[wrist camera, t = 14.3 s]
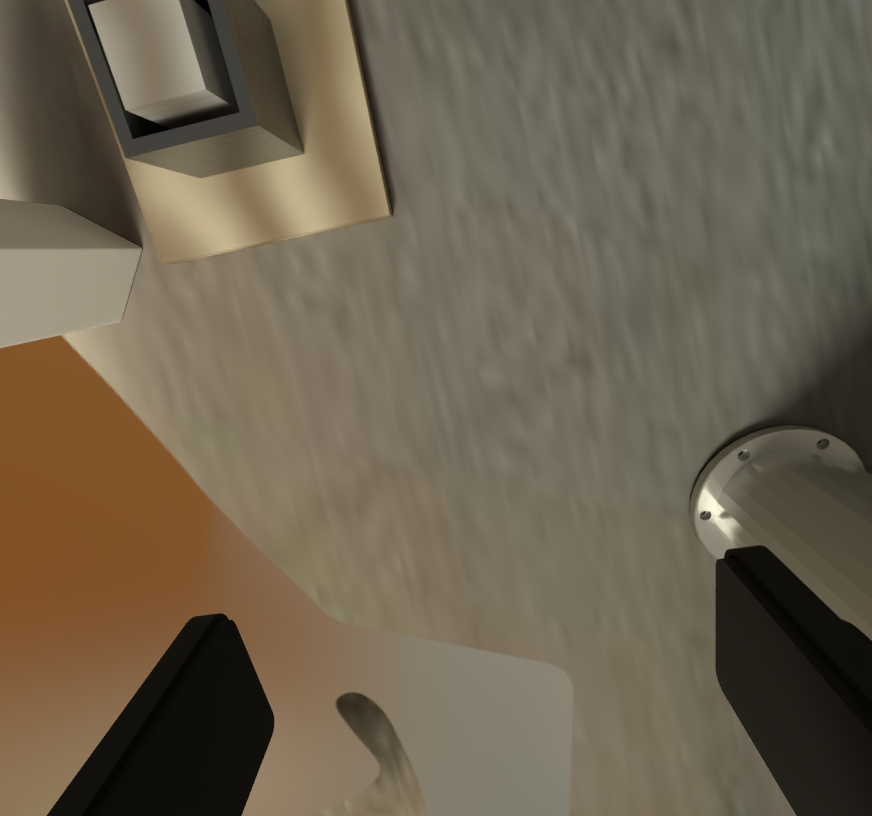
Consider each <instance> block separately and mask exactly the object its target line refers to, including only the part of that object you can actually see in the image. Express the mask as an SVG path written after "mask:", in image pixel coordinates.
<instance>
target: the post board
mask: <svg viewBox="0 0 872 816" xmlns="http://www.w3.org/2000/svg"><path fill="white" fill-rule="evenodd" d="M255 1H256V3H257V4H258V5H259V6H260V7H261V9H262V10H263V11H264V12H265V14H266V15H267V16H268V17H269V18H270V20H271V24H272V28H273V31H274V35H275V39H276V43H277V47H278V51H279V55H280V59H281V63H282V67H283V71H284V75H285V79H286V83H287V86H288V90H289V94H290V98H291V102H292V106H293V110H294V114H295V118H296V122H297V126H298V130H299V134H300V138H301V141H302V145H303V149H304V153H305V154H303V155H298V156H294V157H290V158H286V159H281V160H277V161H273V162H269V163H264V164H260V165H256V166H252V167H248V168H243V169H239V170H235V171H231V172H226V173H222V174H218V175H214V176H209V177H205V178H201V179H200V178H197V177H193V176H189V175H186V174H182V173H178V172H175V171H171V170H167V169H164V168H160V167H156V166H153V165H149V164H145V163H142V162H138V161H134V160H131V159H127V158H125V155H124V153H123V150H122V147H121V144H120V142H119V139H118V136H117V134H116V131H115V128H114V125H113V123H112V120H111V117H110V115H109V112H108V109H107V106H106V104H105V101H104V98H103V95H102V93H101V90H100V87H99V85H98V82H97V79H96V76H95V74H94V71H93V68H92V65H91V63H90V60H89V57H88V55H87V52H86V49H85V46H84V44H83V41H82V38H81V36H80V33H79V30H78V27H77V25H76V22H75V19H74V16H73V14H72V11H71V8H70V6H69V3H68V0H65V3H66V6H67V8H68V11H69V14H70V17H71V19H72V22H73V25H74V27H75V30H76V33H77V36H78V38H79V41H80V44H81V46H82V49H83V52H84V55H85V57H86V60H87V63H88V65H89V68H90V71H91V74H92V76H93V79H94V82H95V84H96V87H97V90H98V93H99V95H100V98H101V101H102V103H103V106H104V109H105V112H106V114H107V117H108V120H109V122H110V125H111V128H112V131H113V133H114V136H115V139H116V141H117V144H118V147H119V150H120V152H121V155H122V158H123V160H124V163H125V166H126V168H127V171H128V174H129V177H130V179H131V182H132V185H133V187H134V190H135V193H136V196H137V198H138V201H139V204H140V206H141V209H142V212H143V215H144V217H145V220H146V223H147V225H148V228H149V231H150V234H151V236H152V239H153V242H154V244H155V247H156V250H157V253H158V255H159V258H160V261H161V263H162V264H176V263H180V262H185V261H190V260H194V259H199V258H203V257H208V256H213V255H217V254H222V253H227V252H231V251H236V250H240V249H245V248H250V247H254V246H259V245H264V244H268V243H273V242H277V241H282V240H287V239H291V238H296V237H301V236H305V235H310V234H314V233H319V232H324V231H328V230H333V229H338V228H342V227H347V226H351V225H356V224H361V223H365V222H370V221H375V220H379V219H384V218H388V217H393V214H392V210H391V205H390V200H389V195H388V190H387V186H386V181H385V176H384V171H383V166H382V161H381V157H380V152H379V147H378V142H377V137H376V133H375V128H374V123H373V118H372V113H371V108H370V104H369V99H368V94H367V89H366V84H365V80H364V75H363V70H362V65H361V60H360V56H359V51H358V46H357V41H356V36H355V31H354V27H353V22H352V17H351V12H350V7H349V3H348V0H255ZM88 6H89V9H90V12H91V15H92V17H93V20H94V23H95V26H96V29H97V31H98V34H99V37H100V40H101V43H102V45H103V48H104V51H105V54H106V57H107V59H108V62H109V65H110V68H111V71H112V73H113V76H114V79H115V82H116V85H117V88H118V90H119V93H120V96H121V99H122V102H123V104H124V107H125V110H127V111H129V112H131V113H134V114H136V115H139V116H141V117H143V118H146V119H148V120H151V121H153V122H155V123H158V124H160V125H163V126H165V127H167V128H170V129H175V128H179V127H183V126H187V125H191V124H195V123H199V122H203V121H207V120H211V119H215V118H219V117H223V116H227V115H231V114H235V113H239V112H240V111H239V108H238V104H237V101H236V97H235V94H234V90H233V87H232V83H231V80H230V76H229V73H228V69H227V66H226V62H225V59H224V55H223V52H222V49H221V45H220V42H219V38H218V35H217V31H216V28H215V24H214V21H213V18H212V17H211V16H210V15H209V14H208V13H207V12H206V11H205V10H204V9H203V8H202V7H200V6H199V5H198V4H197V3H196V2H195V1H194V0H105V1H101V2H98V3H94V4H91V5H88Z"/></svg>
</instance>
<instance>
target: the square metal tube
mask: <svg viewBox="0 0 872 816" xmlns="http://www.w3.org/2000/svg"><path fill="white" fill-rule="evenodd" d="M101 1H105V0H68V3H69V6H70V8H71V11H72V14H73V16H74V19H75V22H76V25H77V27H78V30H79V33H80V36H81V38H82V41H83V44H84V46H85V49H86V52H87V55H88V57H89V60H90V63H91V65H92V68H93V71H94V74H95V76H96V79H97V82H98V85H99V87H100V90H101V93H102V95H103V98H104V101H105V104H106V106H107V109H108V112H109V115H110V117H111V120H112V123H113V125H114V128H115V131H116V134H117V136H118V139H119V142H120V144H121V147H122V150H123V153H124V155H125V158H127V159H131V160H134V161H138V162H142V163H145V164H149V165H153V166H156V167H160V168H164V169H167V170H171V171H175V172H178V173H182V174H186V175H189V176H193V177H197V178H200V179H201V178H205V177H209V176H214V175H218V174H222V173H226V172H231V171H235V170H239V169H243V168H248V167H252V166H256V165H260V164H264V163H269V162H273V161H277V160H281V159H286V158H290V157H294V156H298V155H303V154H305V153H304V149H303V145H302V141H301V138H300V134H299V130H298V126H297V122H296V118H295V114H294V110H293V106H292V102H291V98H290V94H289V90H288V86H287V83H286V79H285V75H284V71H283V67H282V63H281V59H280V55H279V51H278V47H277V43H276V39H275V35H274V31H273V28H272V24H271V20H270V18H269V17H268V16H267V15H266V14H265V12H264V11H263V10H262V9H261V7H260V6H259V5H258V4H257V3H256V1H255V0H194V1H195V2H196V3H197V4H198V5H199V6H200V7H202V8H203V9H204V10H205V11H206V12H207V13H208V14H209V15H210V16H211V17H212V18H213V21H214V24H215V28H216V31H217V35H218V38H219V42H220V45H221V49H222V52H223V55H224V59H225V62H226V66H227V69H228V73H229V76H230V80H231V83H232V87H233V90H234V94H235V97H236V101H237V104H238V108H239V111H240V112H239V113H235V114H231V115H227V116H223V117H219V118H215V119H211V120H207V121H203V122H199V123H195V124H191V125H187V126H183V127H179V128H175V129H170V128H167V127H165V126H163V125H160V124H158V123H155V122H153V121H151V120H148V119H146V118H143V117H141V116H139V115H136V114H134V113H131V112H129V111H127V110H125V107H124V104H123V102H122V99H121V96H120V93H119V90H118V88H117V85H116V82H115V79H114V76H113V73H112V71H111V68H110V65H109V62H108V59H107V57H106V54H105V51H104V48H103V45H102V43H101V40H100V37H99V34H98V31H97V29H96V26H95V23H94V20H93V17H92V15H91V12H90V9H89V6H88V5H91V4H94V3H98V2H101Z"/></svg>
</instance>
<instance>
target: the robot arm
mask: <svg viewBox="0 0 872 816" xmlns="http://www.w3.org/2000/svg"><path fill="white" fill-rule="evenodd" d="M690 518H691V523H692V527H693V529H694V531H695V533H696V536H697V538H698V539H699V540H700V541H701V543H702V544H703V545H704V547H705V548H706V549H707V550H708V551H709V552H710V553H711V554H712V555H713V556H714V557H715V558H717V559H718V560H717V562H716V674H717V678H718V681H719V684H720V687H721V689H722V691H723V693H724V695H725V696H726V698H727V700H728V701H729V703H730V705H731V706H732V708H733V710H734V711H735V713H736V715H737V716H738V718H739V720H740V721H741V723H742V725H743V726H744V728H745V730H746V731H747V733H748V735H749V737H750V738H751V740H752V742H753V743H754V745H755V747H756V748H757V750H758V752H759V753H760V755H761V757H762V758H763V760H764V762H765V763H766V765H767V767H768V768H769V770H770V772H771V773H772V775H773V777H774V778H775V780H776V782H777V783H778V785H779V787H780V789H781V790H782V792H783V794H784V795H785V797H786V799H787V800H788V802H789V804H790V805H791V807H792V809H793V810H794V812H795V814H796V815H797V816H872V474H870V473H868V472H866V471H865V468H864V465H863V463H862V461H861V460H860V458H859V457H858V455H857V454H856V452H855V451H854V450H853V449H852V448H851V447H849V446H848V445H847V444H846V443H845V442H843V441H841V440H840V439H838V438H836V437H834V436H832V435H831V434H828V433H826V432H823V431H821V430H819V429H816V428H811V427H805V426H791V425H784V426H777V427H771V428H766V429H763V430H760V431H756V432H753V433H750V434H748V435H746V436H744V437H742V438H740V439H738V440H736V441H734V442H733V443H732V444H730V445H729V446H727V447H726V448H724V449H723V450H722V451H720V452H719V453H718V454H717V455H716V456H715V457H714V458H713V459H712V460H711V461H710V462H709V463H708V465H707V466H706V467H705V469H704V470H703V472H702V473H701V474H700V476H699V478H698V480H697V482H696V484H695V486H694V489H693V493H692V496H691V500H690ZM273 729H274V715H273V712H272V710H271V707H270V705H269V702H268V700H267V697H266V695H265V693H264V690H263V688H262V685H261V683H260V681H259V678H258V676H257V674H256V671H255V669H254V667H253V664H252V662H251V659H250V657H249V655H248V652H247V650H246V647H245V645H244V643H243V640H242V638H241V636H240V633H239V631H238V629H237V626H236V624H235V622H234V621H232V620H228V618H227V616H226V615H224V614H220V613H219V614H211V615H203V616H196V617H193V618H191V619H190V620H189V621H188V622H187V623H186V625H185V626H184V627H183V629H182V630H181V632H180V633H179V634H178V636H177V637H176V639H175V640H174V641H173V643H172V644H171V645H170V647H169V648H168V650H167V651H166V652H165V654H164V655H163V656H162V658H161V659H160V661H159V662H158V663H157V665H156V666H155V667H154V669H153V670H152V672H151V673H150V674H149V676H148V677H147V678H146V680H145V681H144V683H143V684H142V685H141V687H140V688H139V689H138V691H137V692H136V693H135V695H134V696H133V698H132V699H131V700H130V702H129V703H128V704H127V706H126V707H125V709H124V710H123V711H122V713H121V714H120V716H119V717H118V718H117V720H116V721H115V723H114V724H113V725H112V727H111V728H110V729H109V731H108V732H107V733H106V735H105V736H104V738H103V739H102V740H101V742H100V743H99V744H98V746H97V747H96V749H95V750H94V751H93V753H92V754H91V756H90V757H89V758H88V760H87V761H86V762H85V764H84V765H83V767H82V768H81V769H80V771H79V772H78V773H77V775H76V776H75V777H74V779H73V780H72V782H71V783H70V784H69V786H68V787H67V789H66V790H65V791H64V793H63V794H62V795H61V797H60V798H59V800H58V801H57V802H56V804H55V805H54V807H53V808H52V809H51V811H50V812H49V813H48V815H47V816H241V815H242V813H243V810H244V807H245V805H246V802H247V800H248V797H249V794H250V792H251V789H252V787H253V784H254V781H255V778H256V776H257V773H258V771H259V768H260V765H261V763H262V760H263V758H264V755H265V753H266V750H267V747H268V745H269V742H270V740H271V737H272V733H273Z"/></svg>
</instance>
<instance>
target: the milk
mask: <svg viewBox="0 0 872 816" xmlns="http://www.w3.org/2000/svg"><path fill="white" fill-rule="evenodd" d="M141 252H142V248H141V247H140V246H138V245H136V244H134V243H132V242H130V241H128V240H126V239H124V238H122V237H120V236H118V235H117V234H115V233H113V232H111V231H109V230H107V229H105V228H103V227H101V226H99V225H97V224H95V223H94V222H92V221H90V220H88V219H86V218H84V217H82V216H80V215H78V214H76V213H74V212H72V211H71V210H69V209H67V208H65V207H63V206H59V205H50V204H41V203H32V202H23V201H13V200H4V199H0V348H2V347H7V346H12V345H16V344H21V343H26V342H30V341H34V340H39V339H44V338H49V337H53V336H58V335H63V334H67V333H72V332H76V331H81V330H86V329H90V328H95V327H100V326H104V325H109V324H113V323H118V322H121V321H122V318H123V314H124V311H125V307H126V304H127V300H128V297H129V293H130V290H131V286H132V283H133V279H134V276H135V273H136V269H137V266H138V262H139V259H140V255H141Z"/></svg>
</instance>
